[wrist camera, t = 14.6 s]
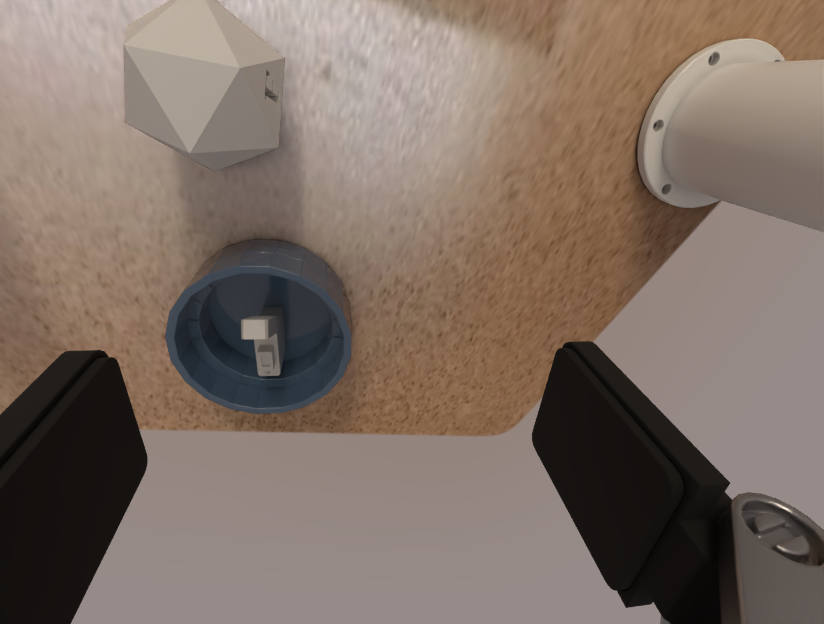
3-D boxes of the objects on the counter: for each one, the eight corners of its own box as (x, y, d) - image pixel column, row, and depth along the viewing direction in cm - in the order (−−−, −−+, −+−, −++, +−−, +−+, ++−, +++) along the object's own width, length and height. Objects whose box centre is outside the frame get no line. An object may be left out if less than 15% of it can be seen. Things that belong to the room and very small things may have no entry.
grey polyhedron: (244, 183, 32) (311, 174, 25) (98, 153, 26) (132, 128, 18) (251, 66, 31) (323, 21, 24) (101, 4, 25) (139, -83, 17)
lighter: (286, 346, 38) (274, 406, 31) (266, 347, 38) (250, 407, 31) (280, 275, 34) (266, 323, 28) (258, 274, 34) (238, 324, 27)
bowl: (350, 239, 35) (352, 267, 29) (348, 368, 41) (350, 410, 36) (178, 234, 32) (147, 264, 27) (204, 372, 38) (184, 417, 33)
